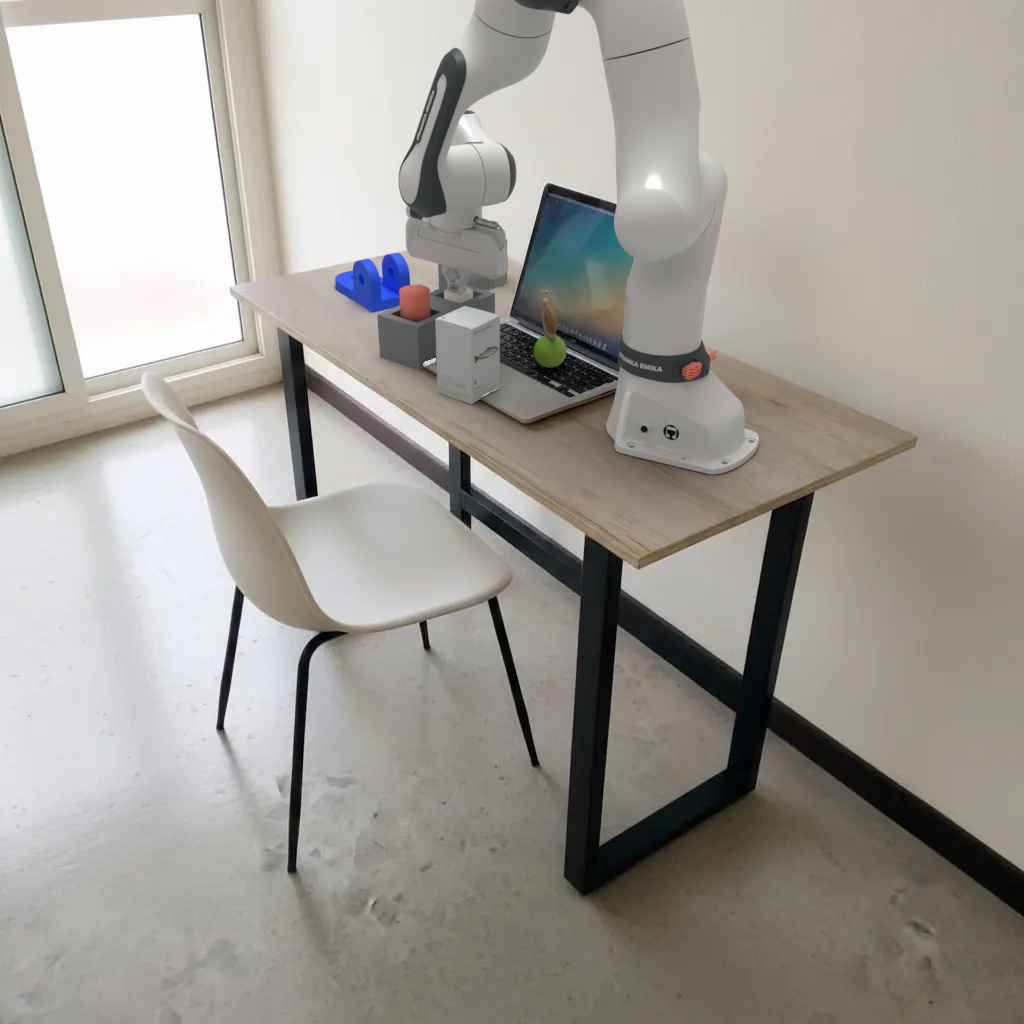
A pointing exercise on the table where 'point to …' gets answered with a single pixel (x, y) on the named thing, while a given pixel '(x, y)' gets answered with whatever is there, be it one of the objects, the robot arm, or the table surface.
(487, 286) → the cassette player
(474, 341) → the supplement box
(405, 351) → the block
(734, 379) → the table surface
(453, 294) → the plug
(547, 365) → the snail figurine
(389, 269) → the bracket
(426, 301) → the red plug
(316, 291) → the table surface
